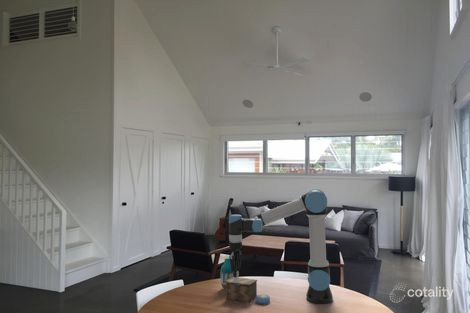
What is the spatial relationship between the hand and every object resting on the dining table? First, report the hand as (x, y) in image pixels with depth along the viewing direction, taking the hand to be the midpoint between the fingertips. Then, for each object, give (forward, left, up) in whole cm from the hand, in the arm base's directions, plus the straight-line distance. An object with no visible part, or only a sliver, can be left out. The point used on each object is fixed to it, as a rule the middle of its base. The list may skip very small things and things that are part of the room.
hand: (236, 282), depth 211 cm
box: (0, -8, -11) cm, 13 cm away
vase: (+14, -18, -11) cm, 26 cm away
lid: (0, -7, -3) cm, 7 cm away
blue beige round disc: (-14, -6, -11) cm, 19 cm away
